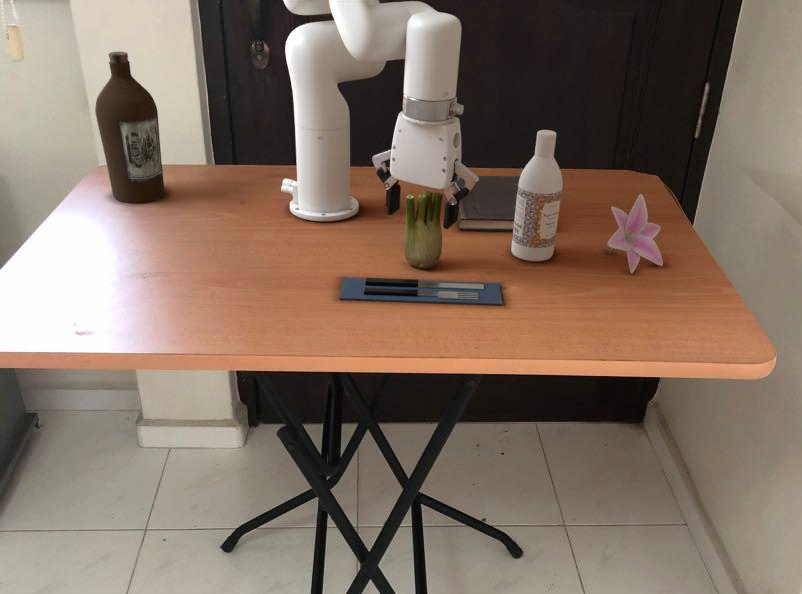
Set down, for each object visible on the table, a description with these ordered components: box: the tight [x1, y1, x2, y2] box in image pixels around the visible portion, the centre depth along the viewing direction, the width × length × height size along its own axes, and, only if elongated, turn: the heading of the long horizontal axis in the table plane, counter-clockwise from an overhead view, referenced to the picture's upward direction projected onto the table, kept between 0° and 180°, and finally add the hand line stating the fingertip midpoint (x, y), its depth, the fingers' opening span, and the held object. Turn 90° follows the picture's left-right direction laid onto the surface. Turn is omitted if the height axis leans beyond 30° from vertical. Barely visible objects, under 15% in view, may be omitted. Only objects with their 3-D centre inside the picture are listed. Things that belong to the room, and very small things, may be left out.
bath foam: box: [510, 129, 564, 262], centre depth 132 cm, size 7×7×20 cm
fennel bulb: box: [403, 190, 444, 270], centre depth 130 cm, size 6×5×12 cm
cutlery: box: [364, 277, 484, 300], centre depth 125 cm, size 18×5×1 cm, turn 88°
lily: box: [607, 193, 664, 274], centre depth 135 cm, size 12×12×10 cm
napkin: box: [339, 277, 503, 306], centre depth 125 cm, size 24×7×1 cm, turn 88°
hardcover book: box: [456, 175, 521, 233], centre depth 155 cm, size 16×23×2 cm
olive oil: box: [94, 51, 165, 204], centre depth 149 cm, size 11×11×25 cm
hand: (420, 218), depth 130 cm, fingers open, 9 cm apart
